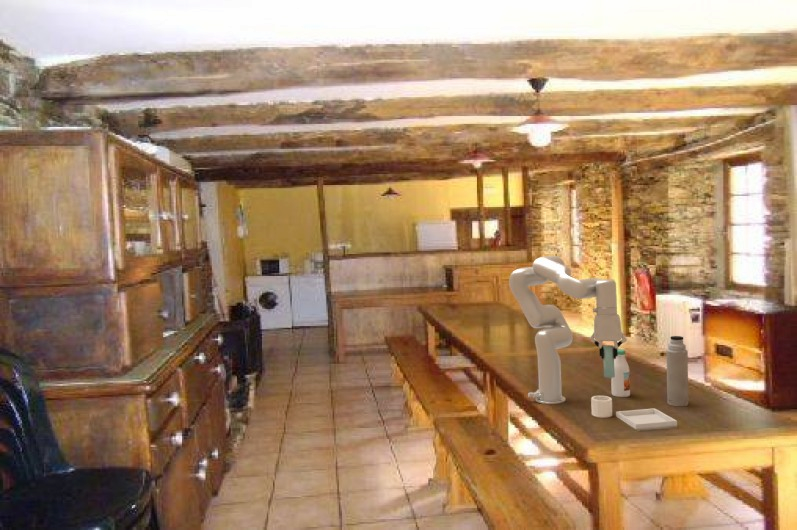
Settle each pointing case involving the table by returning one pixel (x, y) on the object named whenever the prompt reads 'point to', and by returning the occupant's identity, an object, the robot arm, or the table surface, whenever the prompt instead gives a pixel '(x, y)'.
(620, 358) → the milk bottle
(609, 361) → the peg
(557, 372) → the robot arm
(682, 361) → the thermos bottle
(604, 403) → the cup
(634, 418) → the tray
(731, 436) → the table surface
